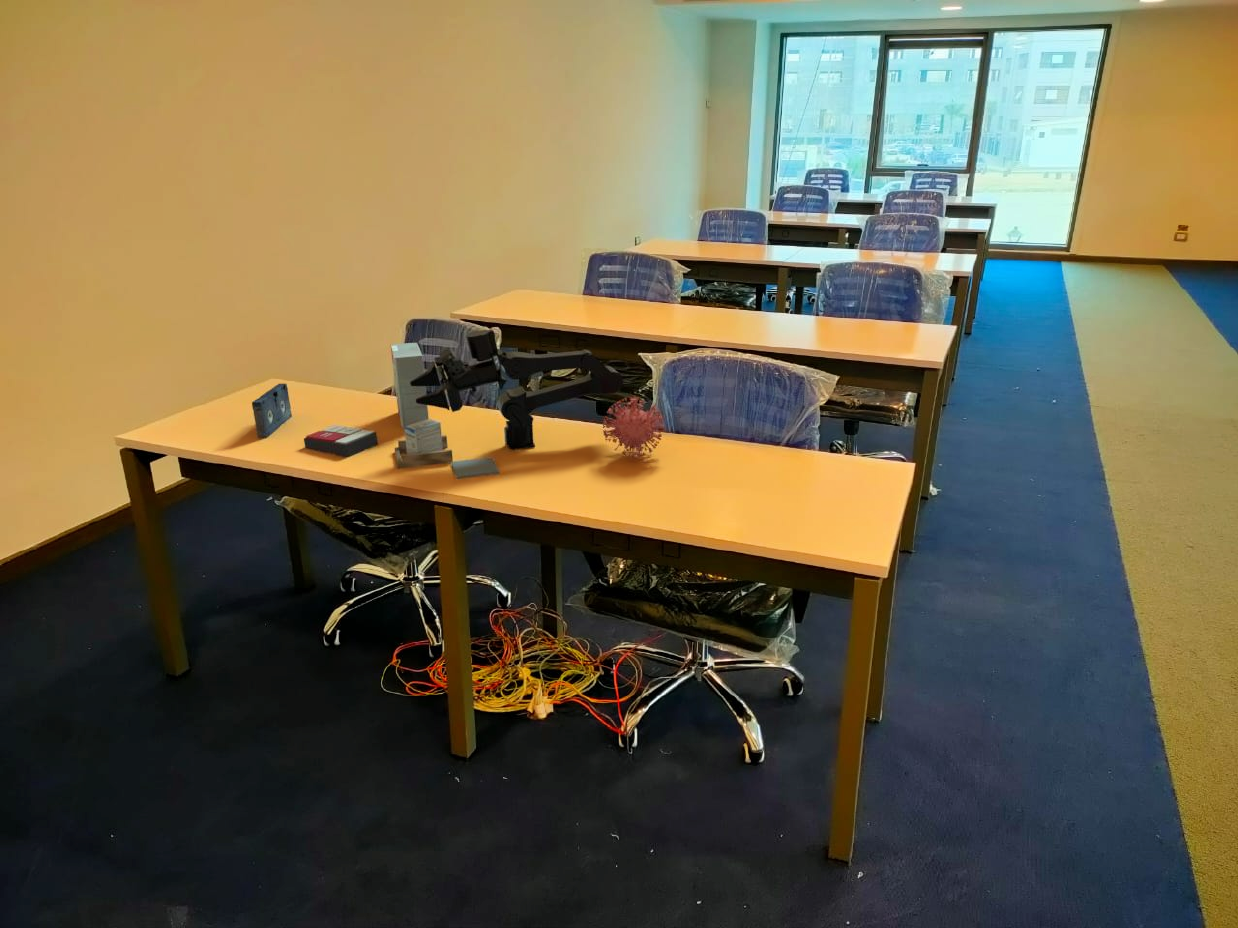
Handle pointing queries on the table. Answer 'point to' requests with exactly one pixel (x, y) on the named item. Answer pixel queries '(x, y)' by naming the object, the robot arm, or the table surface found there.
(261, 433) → the vhs cassette tape
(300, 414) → the table surface
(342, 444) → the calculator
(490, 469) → the rubber mat
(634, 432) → the virus model
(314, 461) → the table surface
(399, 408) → the hard drive box
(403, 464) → the wooden rack
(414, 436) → the medicine box
